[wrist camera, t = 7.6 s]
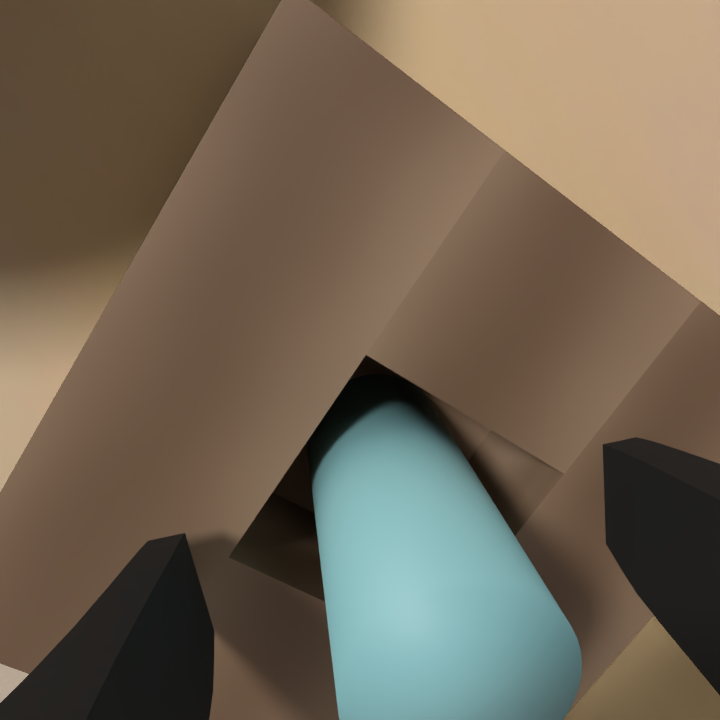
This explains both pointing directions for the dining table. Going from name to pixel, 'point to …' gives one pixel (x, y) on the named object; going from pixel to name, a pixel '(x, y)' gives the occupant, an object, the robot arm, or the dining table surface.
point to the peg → (427, 573)
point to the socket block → (346, 367)
